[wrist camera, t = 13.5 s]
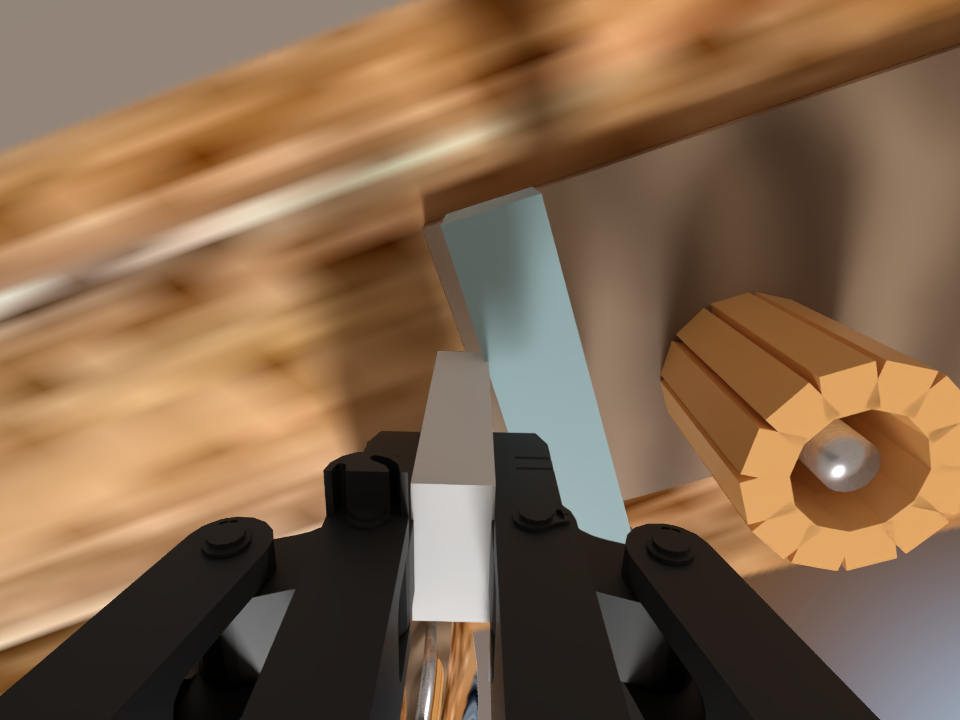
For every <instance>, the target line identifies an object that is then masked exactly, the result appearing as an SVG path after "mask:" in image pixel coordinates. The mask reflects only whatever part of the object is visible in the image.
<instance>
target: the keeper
mask: <svg viewBox="0 0 960 720" xmlns="http://www.w3.org/2000/svg"><path fill="white" fill-rule="evenodd" d="M441 228H442V231H443V235H444V238H445V241H446V244H447V247H448V250H449V253H450V256H451V259H452V262H453V265H454V268H455V271H456V274H457V277H458V280H459V284H460V287H461V290H462V293H463V296H464V299H465V302H466V305H467V308H468V311H469V314H470V317H471V320H472V323H473V326H474V329H475V333H476V336H477V339H478V342H479V345H480V348H481V351H482V354H483V357H484V360H485V362H489V375H490V378H491V381H492V385H493V388H494V391H495V394H496V397H497V400H498V403H499V406H500V409H501V412H502V415H503V418H504V421H505V424H506V427H507V430H508V433H536V434H537V435H538V436H539V437H540V438H541V439H542V440H543V441H545V442H546V443H547V444H548V448H549V452H550V456H551V460H552V464H553V471H554V472H555V477H556V481H557V485H558V489H559V493H560V497H561V501H562V505H563V506H564V507H566V508H567V509H569V510H570V511H571V512H572V514H573V515H574V517H575V519H576V521H577V524H578V528H579V529H580V530H582V531H584V532H586V533H588V534H590V535H593V536H596V537H599V538H602V539H606V540H610V541H615V542H619V543H623V544H625V542H626V537H627V534H628V533H629V532H631V531H632V530H633V529H632V528H631V527H630V526H629V522H628V518H627V515H626V511H625V507H624V503H623V499H622V496H621V492H620V488H619V484H618V481H617V477H616V473H615V469H614V465H613V462H612V458H611V454H610V450H609V447H608V443H607V439H606V435H605V431H604V428H603V424H602V420H601V416H600V413H599V409H598V405H597V401H596V397H595V394H594V390H593V386H592V382H591V379H590V375H589V371H588V367H587V363H586V360H585V356H584V352H583V348H582V345H581V341H580V337H579V333H578V329H577V326H576V322H575V318H574V314H573V311H572V307H571V303H570V299H569V295H568V292H567V288H566V284H565V280H564V277H563V273H562V269H561V265H560V262H559V258H558V254H557V250H556V246H555V243H554V239H553V235H552V231H551V228H550V224H549V220H548V216H547V212H546V209H545V205H544V201H543V197H542V194H541V193H540V192H539V191H538V190H536V189H535V188H533V187H529V188H526V189H523V190H520V191H517V192H513V193H510V194H507V195H504V196H501V197H498V198H495V199H492V200H488V201H485V202H482V203H479V204H476V205H473V206H470V207H467V208H463V209H460V210H457V211H454V212H451V213H448V214H446V216H445V218H444V220H443V222H442V224H441Z"/></svg>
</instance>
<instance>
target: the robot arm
mask: <svg viewBox="0 0 960 720" xmlns="http://www.w3.org/2000/svg"><path fill="white" fill-rule="evenodd" d="M323 471H324V485H325V499H326V514H327V516H326V518H325V520H324V523H323V525H322V527H321V528H318V529H316V530H313V531H311V532H307V533H303V534H299V535H294V536H289V537H283V538H278V539H274V538H273V529H272V528H271V527H270V526H269V525H268V524H267V523H266V522H264V521H261V520H258V519H256V518H250V517H232V518H225V519H221V520H218V521H215V522H212V523H210V524H207V525H204V526H202V527H201V528H199V529H198V530H196V531H194V532H193V533H191V534H190V535H188V536H187V537H186V538H185V539H184V540H183V541H181V542H180V543H179V544H178V545H177V546H176V547H174V548H173V549H172V550H171V551H170V552H169V553H167V554H166V555H165V556H164V557H163V558H161V559H160V560H159V561H158V562H157V563H156V564H154V565H153V566H152V567H151V568H150V569H149V570H147V571H146V572H145V573H144V574H143V575H142V576H140V577H139V578H138V579H137V580H136V581H135V582H133V583H132V584H131V585H130V586H129V587H128V588H126V589H125V590H124V591H123V592H122V593H121V594H119V595H118V596H117V597H116V598H115V599H114V600H112V601H111V602H110V603H109V604H108V605H107V606H105V607H104V608H103V609H102V610H101V611H99V612H98V613H97V614H96V615H95V616H94V617H92V618H91V619H90V620H89V621H88V622H87V623H85V624H84V625H83V626H82V627H81V628H80V629H78V630H77V631H76V632H75V633H74V634H73V635H71V636H70V637H69V638H68V639H67V640H66V641H64V642H63V643H62V644H61V645H60V646H59V647H57V648H56V649H55V650H54V651H53V652H52V653H50V654H49V655H48V656H47V657H46V658H45V659H43V660H42V661H41V662H40V663H39V664H37V665H36V666H35V667H34V668H33V669H32V670H30V671H29V672H28V673H27V674H26V675H25V676H23V677H22V678H21V679H20V680H19V681H18V682H16V683H15V684H14V685H13V686H12V687H11V688H9V689H8V690H7V691H6V692H5V693H4V694H2V695H1V696H0V720H400V717H401V710H402V703H403V696H404V689H405V681H406V674H407V667H408V660H409V653H410V646H411V638H410V619H411V613H412V621H446V622H490V648H489V671H488V682H491V717H492V720H880V719H879V718H878V717H877V716H876V715H875V714H874V713H873V712H872V711H871V710H870V709H869V708H868V707H867V706H866V705H865V704H864V703H863V702H862V701H861V700H860V699H859V698H858V697H857V696H856V695H855V694H854V693H853V691H851V689H849V687H848V686H847V685H845V683H844V682H843V681H842V680H841V679H840V678H839V677H838V676H837V675H836V674H835V673H834V672H833V671H832V670H831V669H830V668H829V667H828V666H827V665H826V664H825V663H824V662H823V661H822V660H821V659H820V658H819V657H818V656H817V655H816V654H815V653H814V651H813V650H811V648H810V647H809V646H808V645H807V644H806V643H805V642H804V641H803V640H802V639H801V638H800V637H799V636H798V635H797V634H796V633H795V632H794V631H793V630H792V629H791V628H790V627H789V626H788V625H787V624H786V623H785V622H784V621H783V620H782V619H781V618H780V617H779V616H778V615H777V614H776V613H775V611H774V610H773V609H771V607H770V606H769V605H768V604H767V603H766V602H765V601H764V600H763V599H762V598H761V597H760V596H759V595H758V594H757V593H756V592H755V591H754V590H753V589H752V588H751V587H750V586H749V585H748V584H747V583H746V582H745V581H744V580H743V579H742V578H741V577H740V576H739V575H738V574H737V573H736V571H735V570H734V569H733V568H732V567H731V566H730V565H729V564H728V563H727V562H726V561H725V560H724V559H723V558H722V557H721V556H720V555H719V554H718V553H717V552H716V551H715V550H714V549H713V548H712V547H711V546H710V545H709V544H708V543H707V542H706V541H704V540H703V539H702V538H700V537H699V536H698V535H696V534H694V533H692V532H690V531H688V530H685V529H683V528H681V527H677V526H674V525H668V524H645V525H642V526H639V527H635V528H634V529H633V530H632V531H631V532H629V533H628V534H627V537H626V542H625V544H623V543H619V542H615V541H610V540H606V539H602V538H599V537H596V536H593V535H590V534H588V533H586V532H584V531H582V530H580V529H579V528H578V524H577V521H576V519H575V517H574V515H573V514H572V512H571V511H570V510H569V509H567V508H566V507H564V506H563V505H562V501H561V497H560V493H559V489H558V485H557V481H556V477H555V472H554V471H553V464H552V460H551V456H550V452H549V448H548V444H547V443H546V442H545V441H543V440H542V439H541V438H540V437H539V436H538V435H537V434H536V433H507V432H493V429H492V411H491V394H490V376H489V362H485V360H484V357H483V354H482V352H466V351H437V356H436V361H435V366H434V370H433V375H432V380H431V385H430V390H429V395H428V400H427V405H426V410H425V415H424V420H423V425H422V430H421V432H394V431H381V432H380V433H378V434H377V435H376V436H375V437H373V438H372V439H371V440H370V441H368V442H367V445H366V448H365V450H364V452H356V453H352V454H349V455H345V456H342V457H340V458H338V459H336V460H334V461H332V462H330V464H329V465H328V466H327V467H326V468H325V469H324V470H323Z"/></svg>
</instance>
